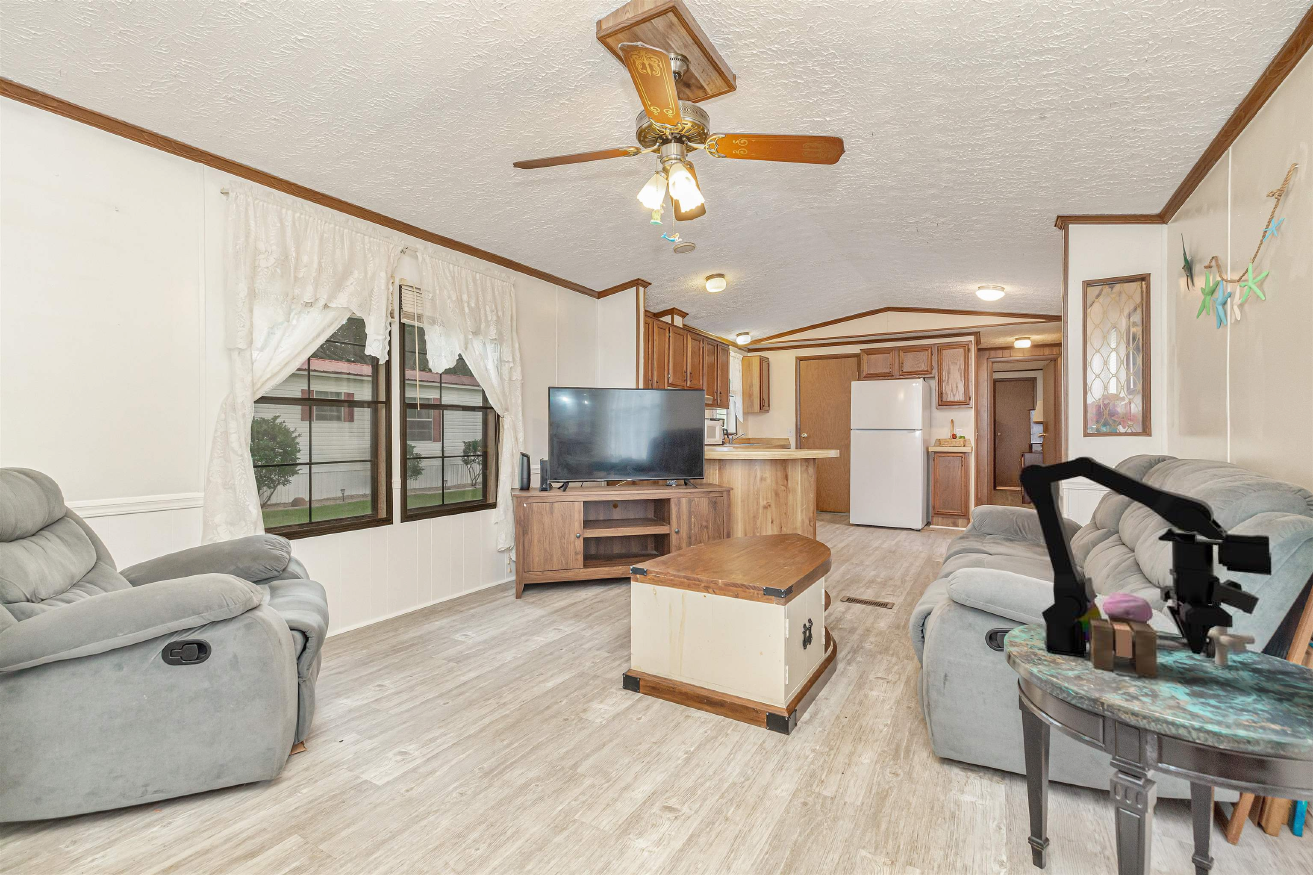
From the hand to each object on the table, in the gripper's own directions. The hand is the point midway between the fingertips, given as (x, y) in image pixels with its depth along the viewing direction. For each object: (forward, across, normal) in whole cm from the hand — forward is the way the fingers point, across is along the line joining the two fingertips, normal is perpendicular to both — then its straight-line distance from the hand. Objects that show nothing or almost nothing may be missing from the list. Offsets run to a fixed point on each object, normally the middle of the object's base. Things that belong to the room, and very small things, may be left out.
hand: (1194, 651), depth 110 cm
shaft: (+1, 0, +6) cm, 6 cm away
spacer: (+2, 0, +11) cm, 11 cm away
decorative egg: (+5, +18, +16) cm, 24 cm away
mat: (+5, 0, +11) cm, 12 cm away
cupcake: (+5, +21, +6) cm, 23 cm away
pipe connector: (+5, +11, -6) cm, 14 cm away
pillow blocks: (+5, 0, +11) cm, 12 cm away
